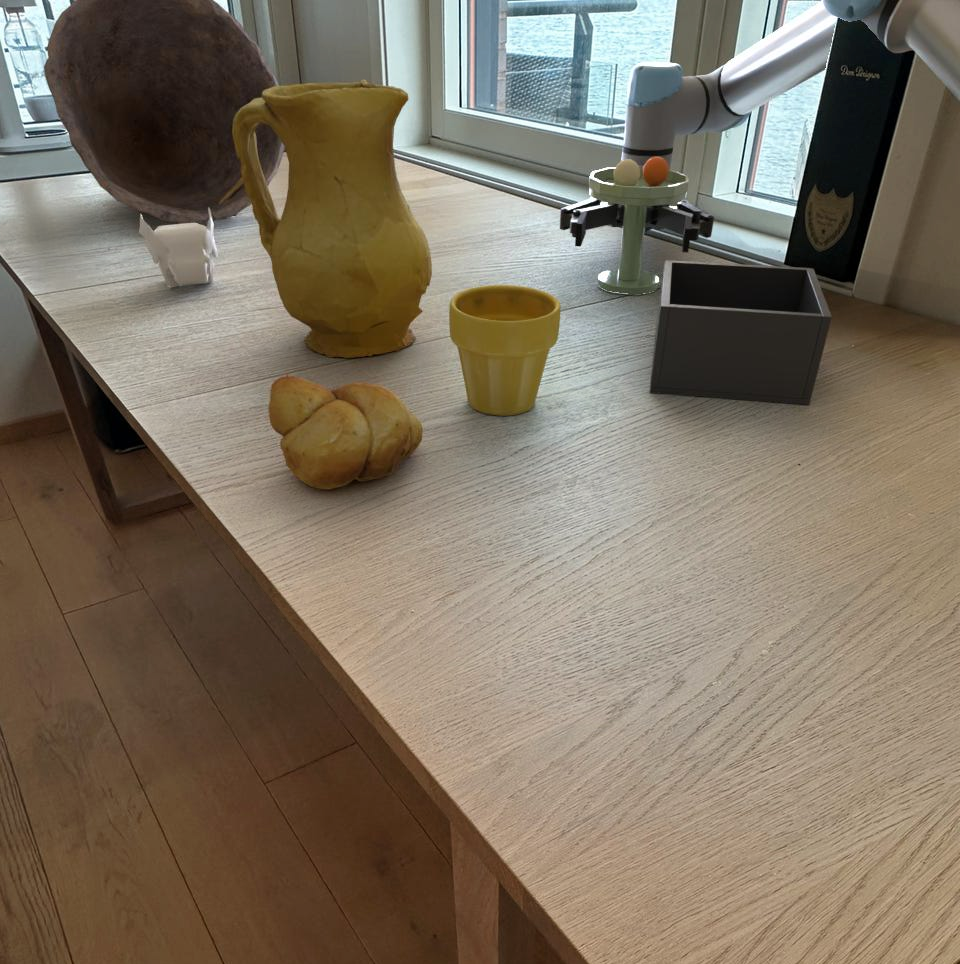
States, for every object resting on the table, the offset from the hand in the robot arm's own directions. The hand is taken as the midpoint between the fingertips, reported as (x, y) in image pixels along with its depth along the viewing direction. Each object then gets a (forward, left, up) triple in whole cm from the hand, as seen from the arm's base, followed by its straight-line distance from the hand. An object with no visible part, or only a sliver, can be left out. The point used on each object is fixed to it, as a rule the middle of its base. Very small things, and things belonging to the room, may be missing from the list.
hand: (632, 237), depth 108 cm
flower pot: (+10, +38, -7) cm, 40 cm away
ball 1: (+1, -1, +7) cm, 7 cm away
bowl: (+74, -30, -7) cm, 80 cm away
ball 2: (-2, -3, +7) cm, 8 cm away
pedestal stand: (0, -2, -6) cm, 7 cm away
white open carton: (+57, +9, -7) cm, 58 cm away
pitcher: (+30, +23, -7) cm, 38 cm away
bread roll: (+20, +54, -7) cm, 58 cm away
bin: (-12, +25, -6) cm, 29 cm away
